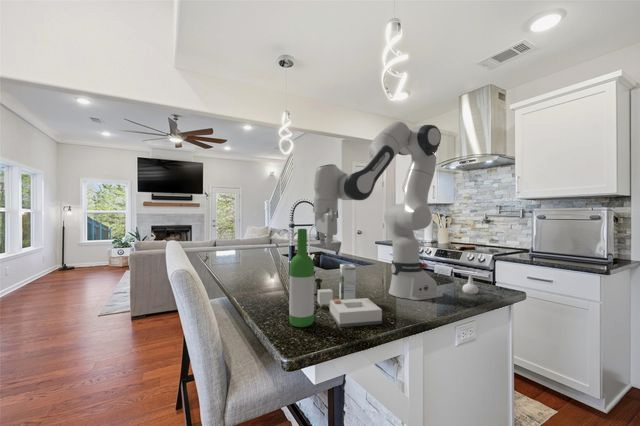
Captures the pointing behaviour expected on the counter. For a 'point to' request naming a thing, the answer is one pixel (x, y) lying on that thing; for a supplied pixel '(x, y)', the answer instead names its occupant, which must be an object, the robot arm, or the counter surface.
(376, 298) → the counter surface
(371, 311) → the socket block
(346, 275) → the syrup box
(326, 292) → the plug
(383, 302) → the counter surface
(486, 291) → the counter surface
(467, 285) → the garlic bulb
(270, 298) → the counter surface
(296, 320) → the wine bottle
